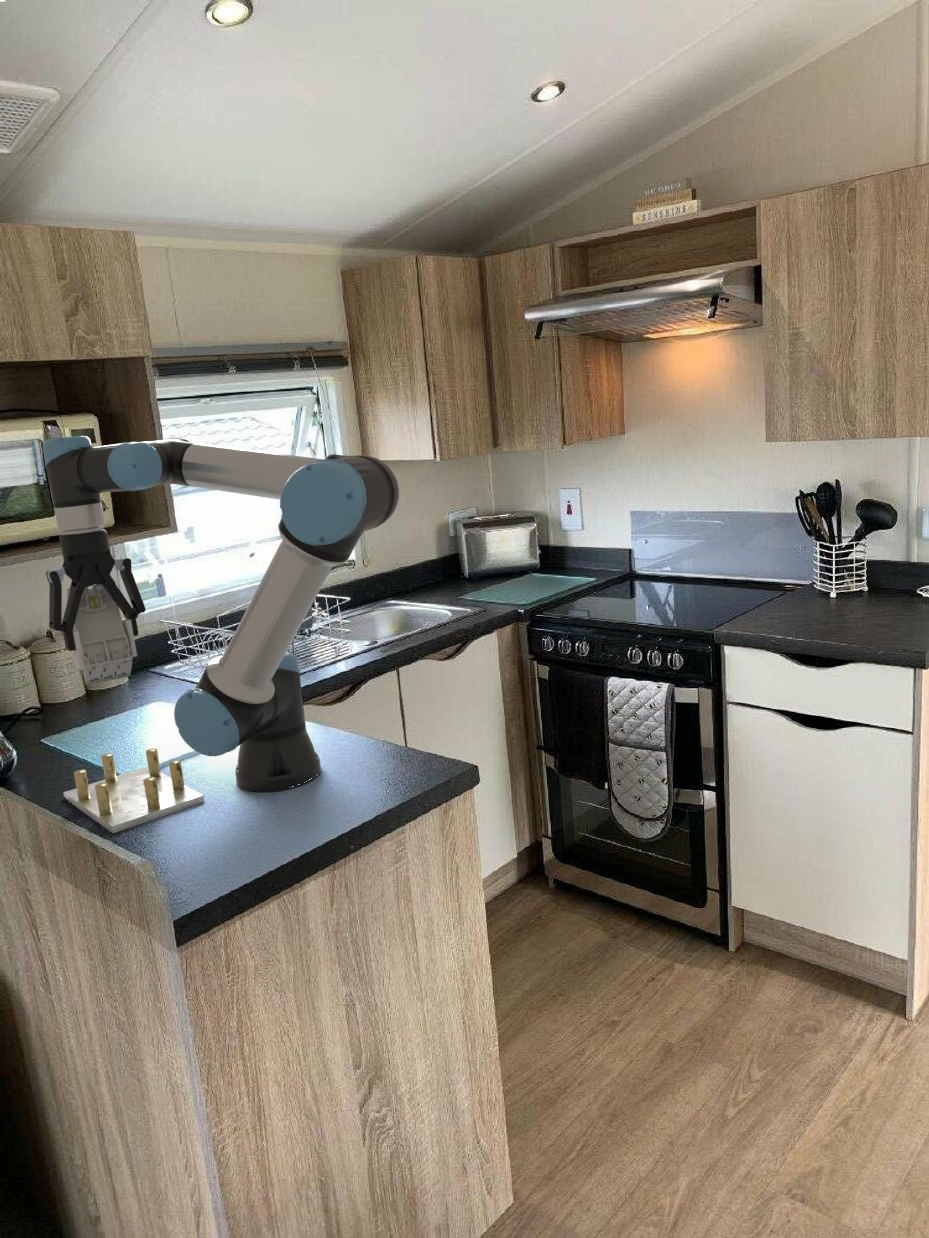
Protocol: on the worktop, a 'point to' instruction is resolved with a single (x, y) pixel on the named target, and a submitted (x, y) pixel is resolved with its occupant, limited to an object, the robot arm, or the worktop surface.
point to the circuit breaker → (102, 637)
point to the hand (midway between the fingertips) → (106, 661)
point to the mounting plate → (132, 794)
